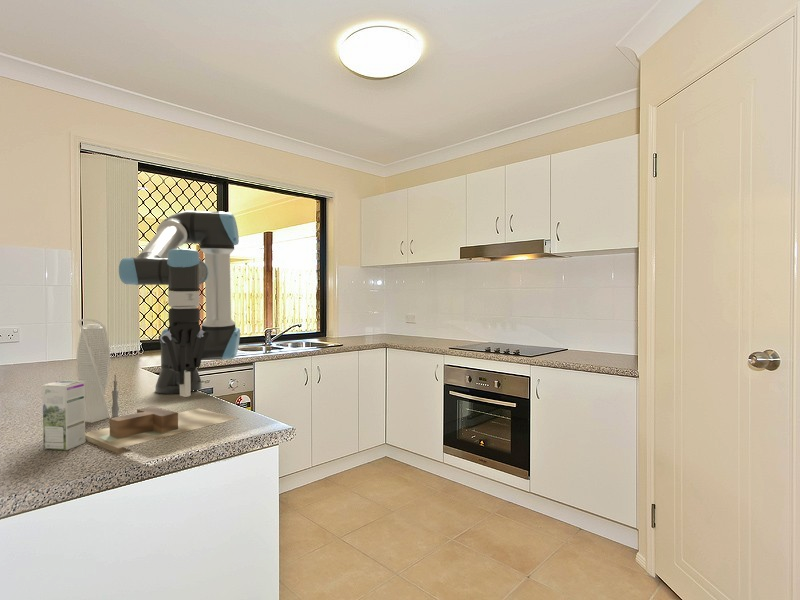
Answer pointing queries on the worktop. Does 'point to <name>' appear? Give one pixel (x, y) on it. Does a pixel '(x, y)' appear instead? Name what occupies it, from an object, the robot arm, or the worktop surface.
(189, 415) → the board
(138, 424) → the t block
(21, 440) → the worktop surface
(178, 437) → the worktop surface
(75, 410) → the syrup box
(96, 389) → the skyscraper
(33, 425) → the worktop surface
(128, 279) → the robot arm
